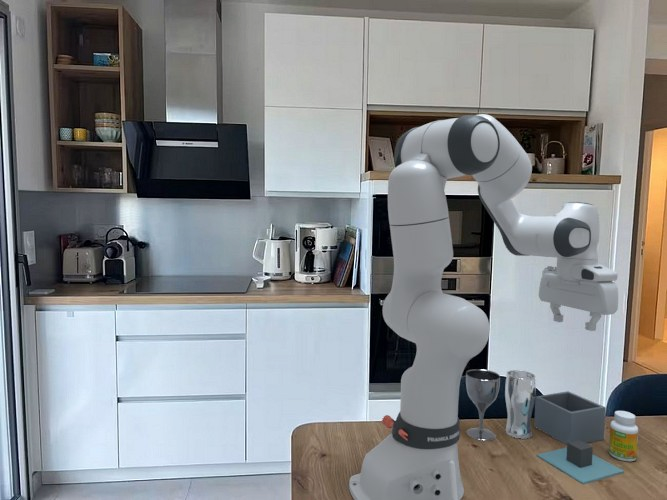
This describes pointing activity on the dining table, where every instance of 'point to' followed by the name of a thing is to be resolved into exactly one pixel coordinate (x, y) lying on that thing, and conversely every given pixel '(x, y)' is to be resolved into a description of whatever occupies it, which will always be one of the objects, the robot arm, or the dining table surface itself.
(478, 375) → the wine glass
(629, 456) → the supplement bottle
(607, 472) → the lid
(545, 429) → the storage box
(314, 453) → the dining table surface
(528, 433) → the beer glass
